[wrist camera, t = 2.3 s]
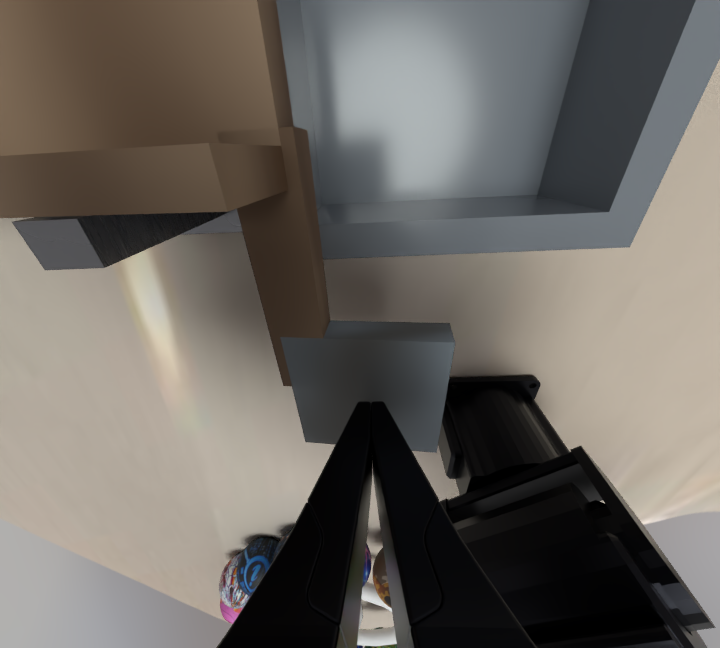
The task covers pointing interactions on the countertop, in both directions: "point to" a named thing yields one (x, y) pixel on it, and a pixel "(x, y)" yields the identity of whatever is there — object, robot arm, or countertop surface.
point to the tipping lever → (203, 176)
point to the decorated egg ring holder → (256, 561)
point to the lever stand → (112, 235)
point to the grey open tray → (491, 117)
